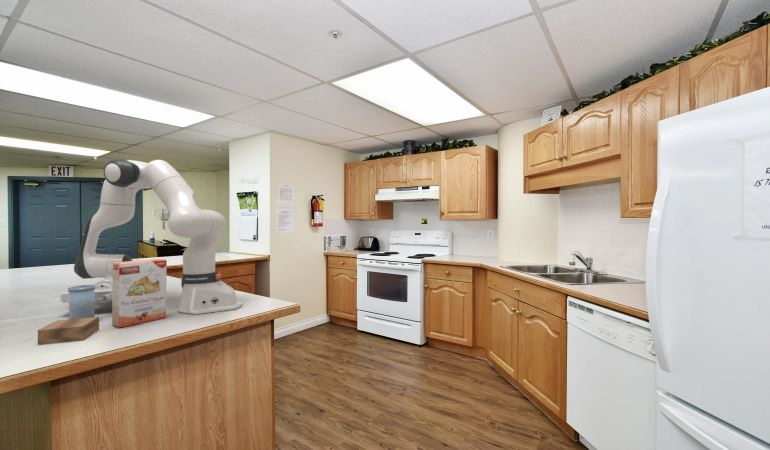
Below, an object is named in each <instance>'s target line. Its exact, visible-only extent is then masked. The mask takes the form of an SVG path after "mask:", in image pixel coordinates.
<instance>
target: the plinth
mask: <svg viewBox="0 0 770 450" xmlns="http://www.w3.org/2000/svg"><path fill="white" fill-rule="evenodd" d="M99 330H100V317H99V316H95V317H91V318H79V319H69V318H67V319H59V320H56V321H53V322H52V323H50V324H47V325H46V326H44V327H42V328H39V329H38V330H37V345H48V344H49V345H51V344H57V343H59V344H60V343H67V342H68V343H69V342H78V341H84V340H86V339H88V338H89V337H90V336H92V335H93V334H94V333H96V332H98V331H99Z"/></svg>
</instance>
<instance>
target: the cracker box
mask: <svg viewBox="0 0 770 450" xmlns="http://www.w3.org/2000/svg"><path fill="white" fill-rule="evenodd" d="M111 302H112V305H111V307H112V308H111V309H112V311H111V314H112V315H111V325H112V326H114V327H116V328H118V329H120V328H124V327H125V328H126V327H128V326H134V325H138V324H143V323H147V322H152V321H156V320H162V319H166V317H167V259H162V258H155V259H154V258H153V259H140V260H139V259H138V260H137V259H136V260H133V261H125V262H113V277H112V301H111Z"/></svg>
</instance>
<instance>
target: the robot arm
mask: <svg viewBox="0 0 770 450" xmlns="http://www.w3.org/2000/svg"><path fill="white" fill-rule="evenodd" d="M103 176H104V179H105V180H104V182H103V184H102V188H101V191H100V193H101V194H100V199H99V200H100V203H99V208H98V209H97V212H95V214H92V215H90V217H89V218H88V220H87V223H86V225H85V227H84V231H83V236H82V239H81V243H80V247H79V252H78V255H77V257H76V259H75V262H74V265H73V272H74V273H75V275H77V276H78V277H79V278H81V279H84V280H85V279H97V278H98V279H102V280H99V281H97V282H95V283H94V284H93V285H95V289H94V294H95V302H96V303H99V304H108V303H110V302H112V277H113V262H125V261H134V260H133V259H132V258H131V257H130V255H127V254H120V253H119V254H118V253H117V254H115V253H114V254H113V253H112V254H109V253H108V254H107V253H97V252H96V250H97V246H98V243H99V237H100V235H101V233H102V232H103V231H105V230H107V229H110V228H114V227H118V226H121V225H124V224H127V223H128V222H130V221H131V220H132V219H133V218H134V216H135V210H136V194H137V193H138V192H139V191H140V190H142V191H144V192H145V191H150V190H153V192H154V193H155V194H156V195H157V197H158V198H159V199H160V201H161V202H162V203H163V205H164V206H165V207H166V210H167V213H168V215H169V217H168V221H167V226H168V229H169V231H170V232H171V234H173V235H175V236H177V237H180V238H187V239H190V242H189V244H188V246H187V248H186V249H185V250H184V252H183V253H182V273H181V277H180V279H181V280H180V281H181V283H180V286H181V289H182V290H181V297H180V298H181V299H180V302H179V307H178V308H177V312H180V313H183V314H186V313H187V314H189V315H200V314H208V313H216V312H223V311H231V310H237V309H239V308H241V307H242V306H243V301H242V300H241V299H239V298H238V297H237V294H236V291H235V289H234V288H233V287H232V286H230V285H229V284H227V283H225V282H223V281H222V280H221V279H222V273H221V272H218V271H216V255H217V254H216V253H217V247H218V244H219V243H218V242H219V239H220V237H221V234H222V232H223V231H224V230H225V229H226V225H227V222H226V221H227V220H226V218H225V216H224V215H222V213H220V212H219V211H218V212H217V211H215V210H212V209H202V208H200V207H199V206H198V205H197V204H196V201H195V192H194V190H193V189H192V188H191V186H190V185H189V184H188V183H187V182H186V180H185V179H184V177H183V176H182V175H181V174H180V172H178V171H177V169H176V168H175V167H173V166H172V165H171V164H170V163H168V161H167V160H166V161H165V160H163V159H154V160H152V161H149V162H145V161H139V160H133V159H121V158H120V159H118V158H117V159H112V160H109V161H108V162H107V163H106V164H105V165H104V168H103ZM103 278H104V279H103ZM60 302H61V303H62V304H67V303H68V304H69V292H68V290H66V291H63V292H61V293H60Z"/></svg>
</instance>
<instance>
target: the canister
mask: <svg viewBox="0 0 770 450" xmlns="http://www.w3.org/2000/svg"><path fill="white" fill-rule="evenodd" d="M94 289H95V285H94V284H85V285H76V286H70V287H68V288H67V291H68V292H69V303H68V319H79V318H91V317H96V315H95V314H96V312H95V311H96V309H95V307H96V306H95V305H96V304H95V302H96V301H95V294H94Z"/></svg>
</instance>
